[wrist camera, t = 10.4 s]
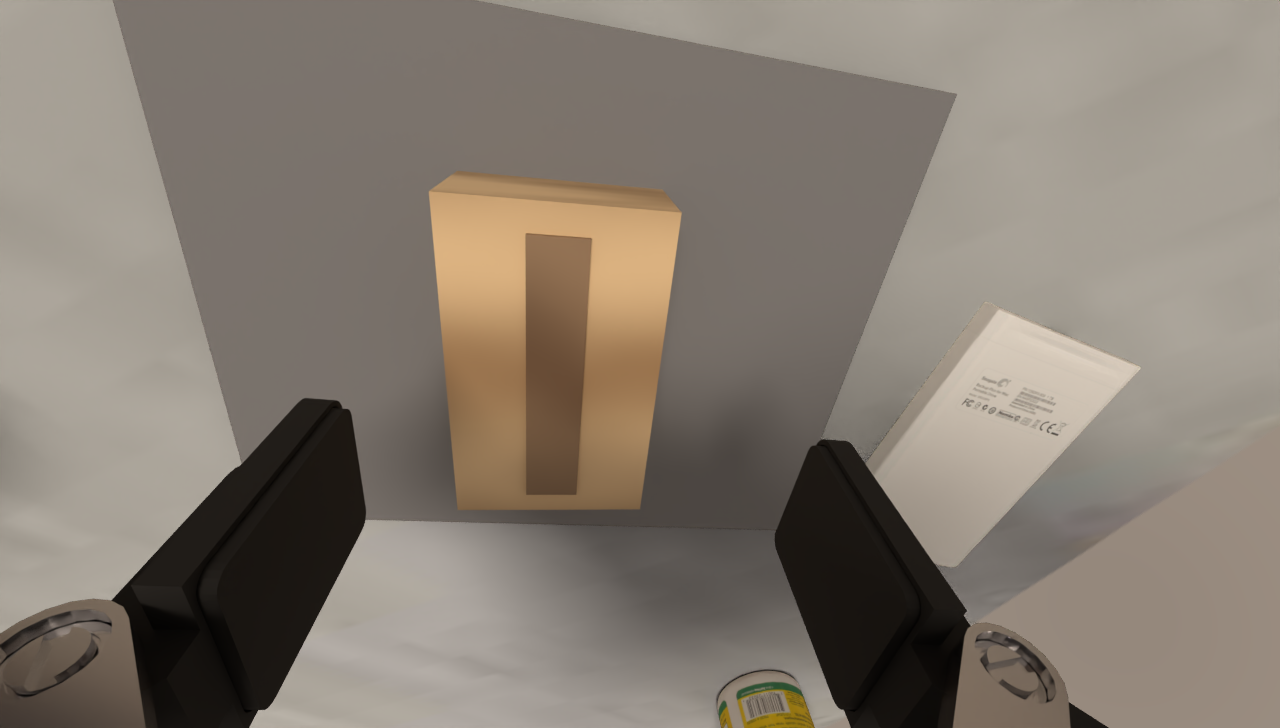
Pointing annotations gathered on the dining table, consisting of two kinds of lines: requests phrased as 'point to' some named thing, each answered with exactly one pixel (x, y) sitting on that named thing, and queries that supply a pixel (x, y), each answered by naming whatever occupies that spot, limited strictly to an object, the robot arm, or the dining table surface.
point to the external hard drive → (990, 427)
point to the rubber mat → (537, 148)
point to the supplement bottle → (763, 702)
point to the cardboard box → (551, 336)
